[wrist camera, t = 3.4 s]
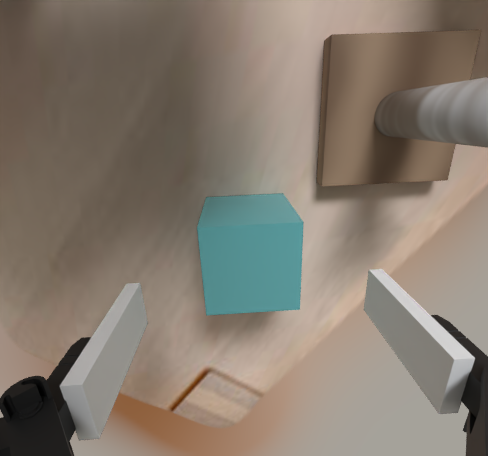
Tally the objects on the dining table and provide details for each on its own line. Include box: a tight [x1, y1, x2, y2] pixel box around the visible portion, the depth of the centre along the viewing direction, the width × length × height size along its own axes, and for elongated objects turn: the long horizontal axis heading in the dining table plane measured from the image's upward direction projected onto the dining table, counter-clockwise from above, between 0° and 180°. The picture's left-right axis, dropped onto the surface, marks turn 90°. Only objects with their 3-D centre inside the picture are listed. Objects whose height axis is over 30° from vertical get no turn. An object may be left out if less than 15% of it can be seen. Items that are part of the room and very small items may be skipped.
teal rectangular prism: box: [197, 193, 303, 315], centre depth 21 cm, size 6×6×7 cm
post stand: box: [317, 30, 488, 186], centre depth 16 cm, size 10×10×12 cm
